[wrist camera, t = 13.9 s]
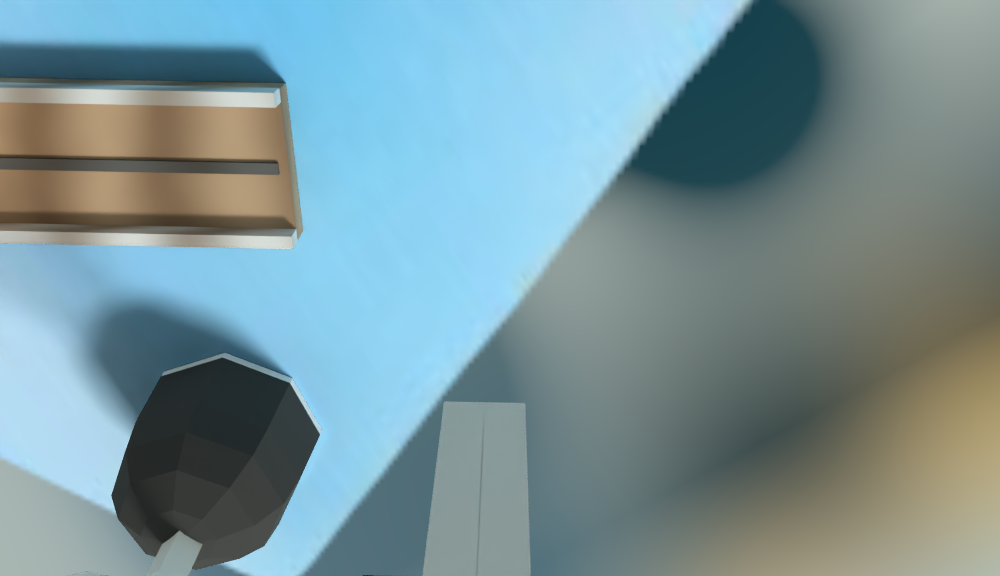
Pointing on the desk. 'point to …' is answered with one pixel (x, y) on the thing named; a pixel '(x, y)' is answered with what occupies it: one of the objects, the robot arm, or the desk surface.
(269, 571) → the desk surface
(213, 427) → the hook
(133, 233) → the track
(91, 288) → the desk surface
